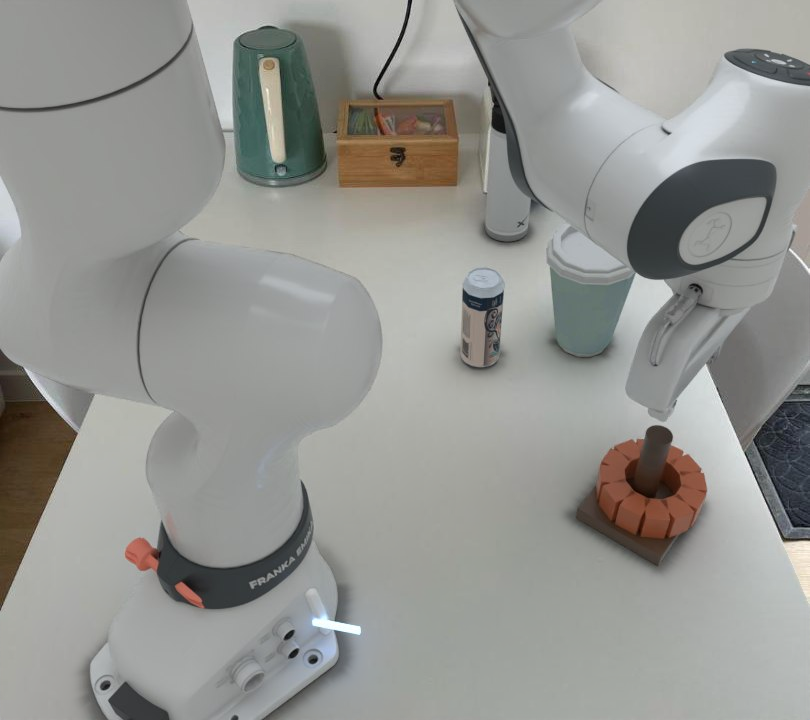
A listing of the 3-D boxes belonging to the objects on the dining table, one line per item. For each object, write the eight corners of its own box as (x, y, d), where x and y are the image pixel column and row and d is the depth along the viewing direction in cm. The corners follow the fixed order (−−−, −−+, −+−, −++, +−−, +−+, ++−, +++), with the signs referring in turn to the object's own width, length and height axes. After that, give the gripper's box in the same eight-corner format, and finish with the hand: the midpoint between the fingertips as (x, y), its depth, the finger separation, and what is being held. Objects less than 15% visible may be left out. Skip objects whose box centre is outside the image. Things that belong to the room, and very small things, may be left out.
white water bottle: (532, 242, 117) (545, 111, 103) (486, 242, 117) (493, 111, 103) (527, 218, 121) (540, 90, 108) (483, 219, 122) (490, 90, 108)
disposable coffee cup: (636, 364, 97) (659, 262, 87) (549, 375, 96) (562, 273, 86) (606, 309, 105) (625, 210, 95) (525, 319, 104) (536, 219, 94)
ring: (674, 556, 76) (680, 537, 74) (578, 505, 80) (582, 486, 78) (715, 487, 82) (722, 468, 79) (623, 443, 86) (628, 424, 84)
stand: (658, 566, 77) (683, 489, 69) (575, 517, 81) (590, 440, 73) (699, 506, 82) (727, 428, 74) (619, 463, 86) (638, 385, 78)
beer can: (496, 372, 97) (502, 292, 89) (457, 367, 98) (459, 288, 89) (501, 346, 100) (507, 267, 92) (463, 341, 101) (466, 263, 93)
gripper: (702, 341, 57) (663, 470, 66) (806, 218, 68) (760, 342, 78) (621, 307, 60) (595, 435, 69) (733, 194, 72) (698, 317, 81)
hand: (683, 385), depth 74 cm, fingers open, 8 cm apart
